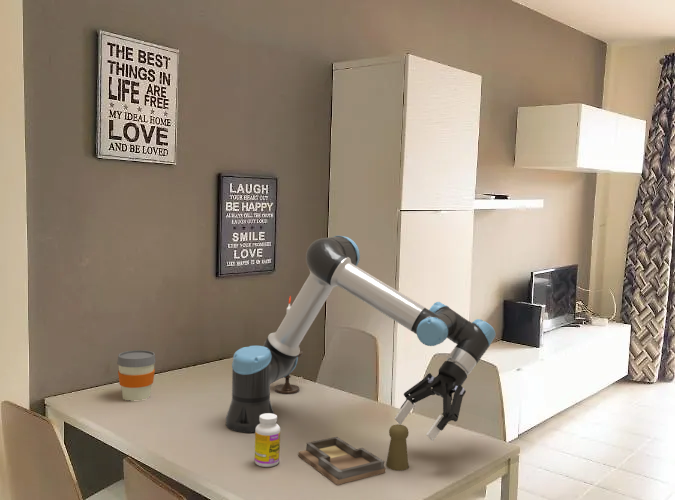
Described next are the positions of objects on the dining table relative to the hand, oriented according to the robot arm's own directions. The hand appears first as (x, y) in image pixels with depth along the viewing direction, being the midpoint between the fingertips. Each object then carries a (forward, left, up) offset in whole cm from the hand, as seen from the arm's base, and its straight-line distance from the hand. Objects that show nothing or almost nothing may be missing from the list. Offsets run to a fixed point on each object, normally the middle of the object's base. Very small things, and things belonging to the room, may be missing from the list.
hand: (412, 429), depth 174 cm
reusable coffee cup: (-88, -50, -10) cm, 102 cm away
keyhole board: (-9, -17, -10) cm, 22 cm away
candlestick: (-72, 0, -10) cm, 73 cm away
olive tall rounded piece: (-1, -4, -10) cm, 11 cm away
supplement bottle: (-19, -34, -10) cm, 40 cm away
